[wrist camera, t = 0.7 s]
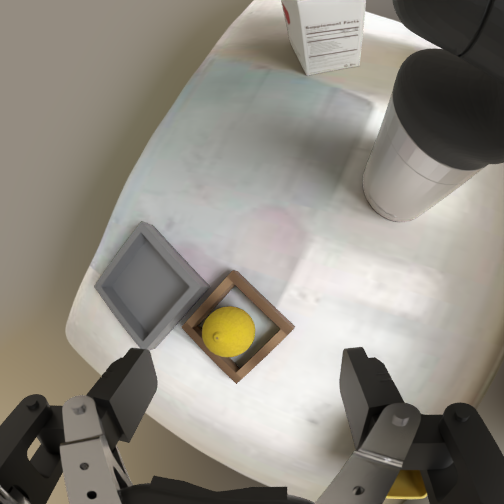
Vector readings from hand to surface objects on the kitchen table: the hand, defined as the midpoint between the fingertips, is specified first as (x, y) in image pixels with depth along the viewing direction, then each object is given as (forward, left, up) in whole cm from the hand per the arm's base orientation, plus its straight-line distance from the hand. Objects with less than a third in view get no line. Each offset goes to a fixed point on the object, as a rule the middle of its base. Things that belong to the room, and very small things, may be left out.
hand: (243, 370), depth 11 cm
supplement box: (-32, -21, -23) cm, 45 cm away
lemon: (+6, -3, -23) cm, 24 cm away
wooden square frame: (+6, -3, -23) cm, 24 cm away
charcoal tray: (+11, -15, -23) cm, 30 cm away
